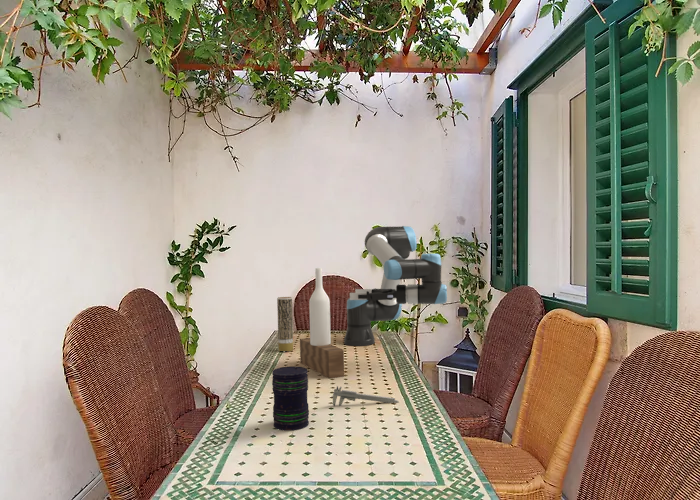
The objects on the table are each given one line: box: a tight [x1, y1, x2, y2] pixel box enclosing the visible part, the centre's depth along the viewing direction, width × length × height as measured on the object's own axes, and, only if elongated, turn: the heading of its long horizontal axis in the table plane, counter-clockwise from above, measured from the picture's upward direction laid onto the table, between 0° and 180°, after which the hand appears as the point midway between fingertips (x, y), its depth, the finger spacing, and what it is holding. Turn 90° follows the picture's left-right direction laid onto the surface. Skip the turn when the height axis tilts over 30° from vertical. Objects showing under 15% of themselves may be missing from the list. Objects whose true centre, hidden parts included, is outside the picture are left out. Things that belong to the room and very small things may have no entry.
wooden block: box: [299, 337, 345, 380], centre depth 207 cm, size 30×6×10 cm, turn 26°
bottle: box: [308, 267, 332, 346], centre depth 207 cm, size 8×8×30 cm
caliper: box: [332, 385, 400, 407], centre depth 161 cm, size 20×1×6 cm, turn 97°
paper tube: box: [276, 296, 294, 352], centre depth 244 cm, size 7×7×25 cm
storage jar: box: [271, 365, 310, 432], centre depth 144 cm, size 10×10×15 cm
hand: (352, 294), depth 207 cm, fingers open, 13 cm apart
